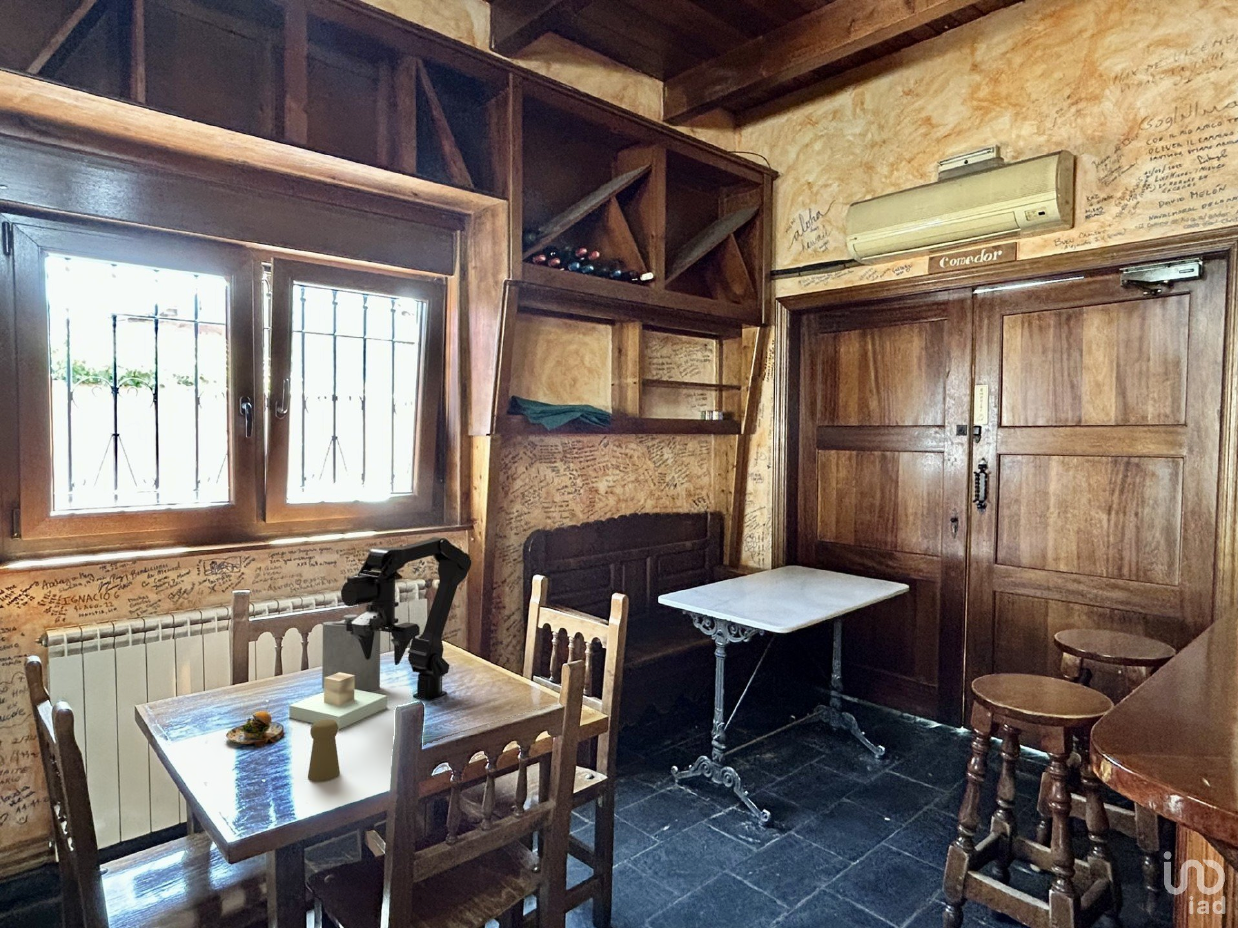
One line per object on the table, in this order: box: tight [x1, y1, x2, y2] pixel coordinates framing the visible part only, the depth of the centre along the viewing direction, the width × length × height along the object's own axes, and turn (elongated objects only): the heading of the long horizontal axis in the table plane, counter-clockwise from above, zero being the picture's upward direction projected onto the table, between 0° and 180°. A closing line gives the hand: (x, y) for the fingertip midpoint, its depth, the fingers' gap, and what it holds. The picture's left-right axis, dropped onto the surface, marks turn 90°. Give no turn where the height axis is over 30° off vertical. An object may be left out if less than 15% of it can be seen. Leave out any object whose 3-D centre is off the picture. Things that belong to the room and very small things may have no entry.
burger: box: [225, 705, 285, 748], centre depth 167 cm, size 12×12×8 cm
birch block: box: [323, 672, 355, 705], centre depth 183 cm, size 5×5×6 cm
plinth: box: [288, 689, 388, 730], centre depth 183 cm, size 16×16×3 cm
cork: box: [307, 719, 341, 783], centre depth 149 cm, size 6×6×11 cm
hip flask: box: [321, 614, 381, 691], centre depth 201 cm, size 16×4×20 cm, turn 86°
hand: (382, 661), depth 182 cm, fingers open, 9 cm apart
